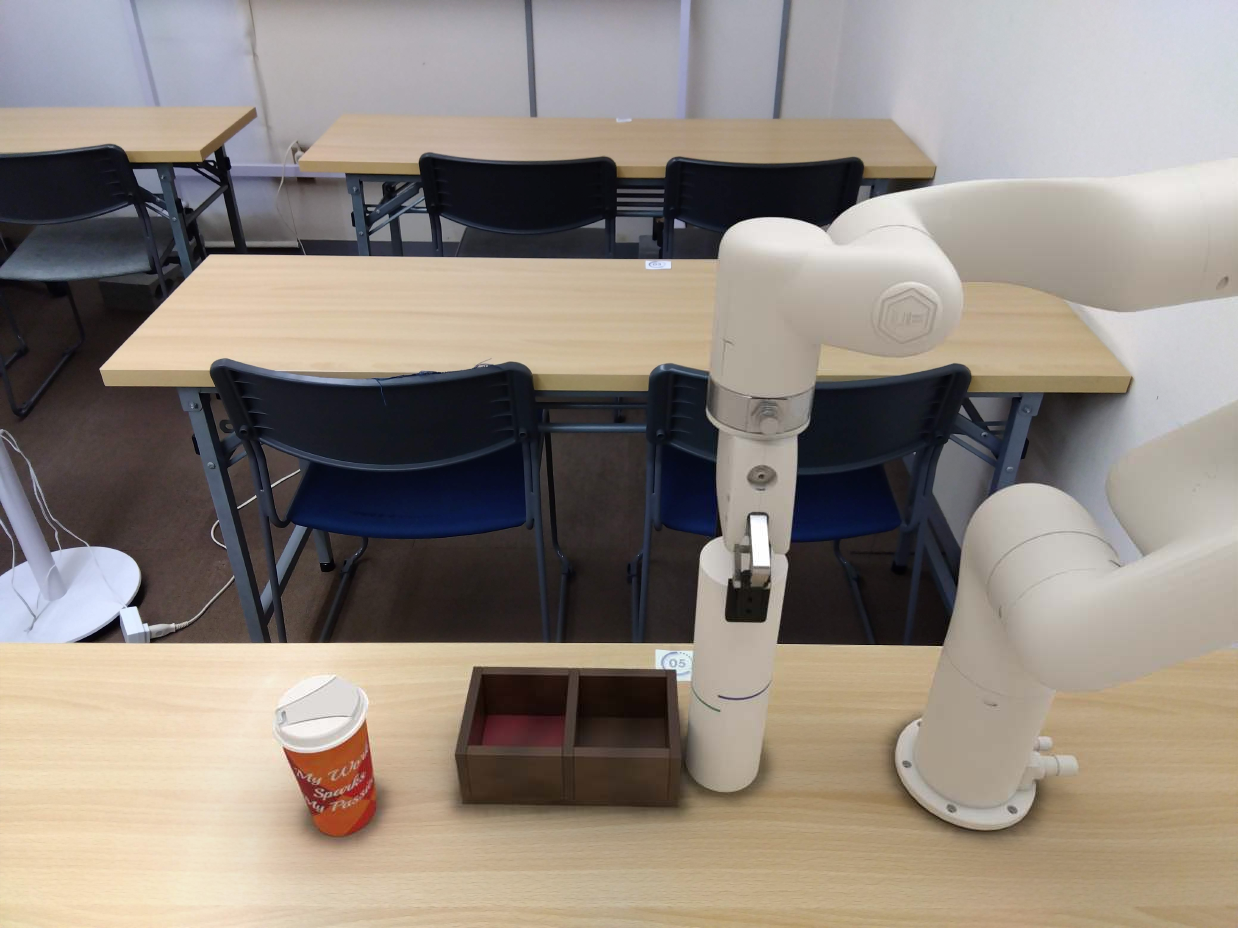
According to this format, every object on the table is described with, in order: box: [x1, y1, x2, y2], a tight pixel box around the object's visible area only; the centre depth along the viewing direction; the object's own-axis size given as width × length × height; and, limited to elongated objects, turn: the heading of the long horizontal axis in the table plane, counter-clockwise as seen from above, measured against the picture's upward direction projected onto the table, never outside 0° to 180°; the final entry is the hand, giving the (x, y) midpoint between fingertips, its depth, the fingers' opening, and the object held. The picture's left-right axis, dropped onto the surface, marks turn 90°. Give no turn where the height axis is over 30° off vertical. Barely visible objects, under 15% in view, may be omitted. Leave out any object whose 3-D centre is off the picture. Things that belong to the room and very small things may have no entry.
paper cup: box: [271, 674, 378, 837], centre depth 75 cm, size 8×8×14 cm
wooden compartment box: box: [454, 665, 682, 808], centre depth 82 cm, size 20×10×7 cm, turn 89°
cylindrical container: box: [684, 536, 789, 793], centre depth 76 cm, size 7×7×25 cm
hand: (738, 579), depth 71 cm, fingers open, 9 cm apart
